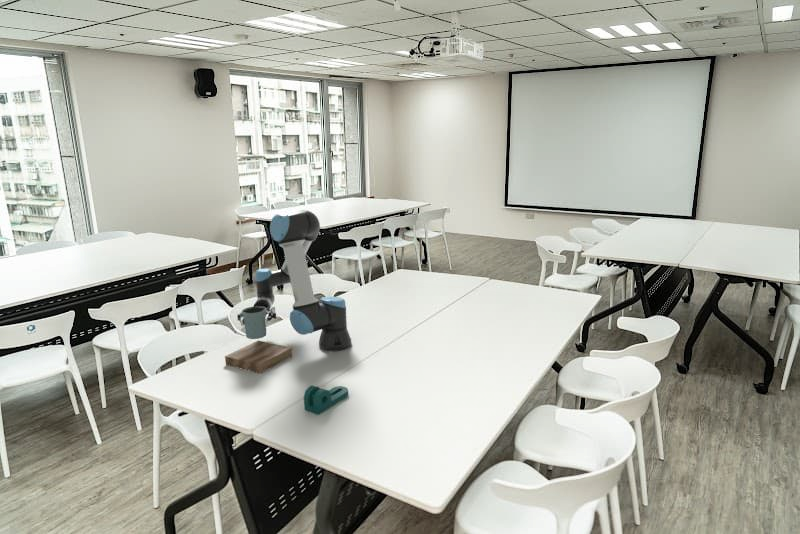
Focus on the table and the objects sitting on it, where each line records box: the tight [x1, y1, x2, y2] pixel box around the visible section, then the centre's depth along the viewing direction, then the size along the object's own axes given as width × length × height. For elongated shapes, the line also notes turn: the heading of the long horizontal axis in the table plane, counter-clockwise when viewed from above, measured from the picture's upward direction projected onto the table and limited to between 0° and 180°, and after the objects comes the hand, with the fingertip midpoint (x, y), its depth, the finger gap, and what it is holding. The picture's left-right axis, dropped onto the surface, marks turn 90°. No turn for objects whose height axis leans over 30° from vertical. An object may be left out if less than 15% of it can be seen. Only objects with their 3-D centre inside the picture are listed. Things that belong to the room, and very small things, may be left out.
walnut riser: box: [224, 340, 293, 374], centre depth 221 cm, size 20×20×4 cm
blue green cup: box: [241, 305, 267, 340], centre depth 220 cm, size 10×10×12 cm
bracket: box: [303, 385, 349, 416], centre depth 184 cm, size 18×7×8 cm, turn 145°
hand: (253, 322), depth 217 cm, fingers closed on blue green cup, 9 cm apart
